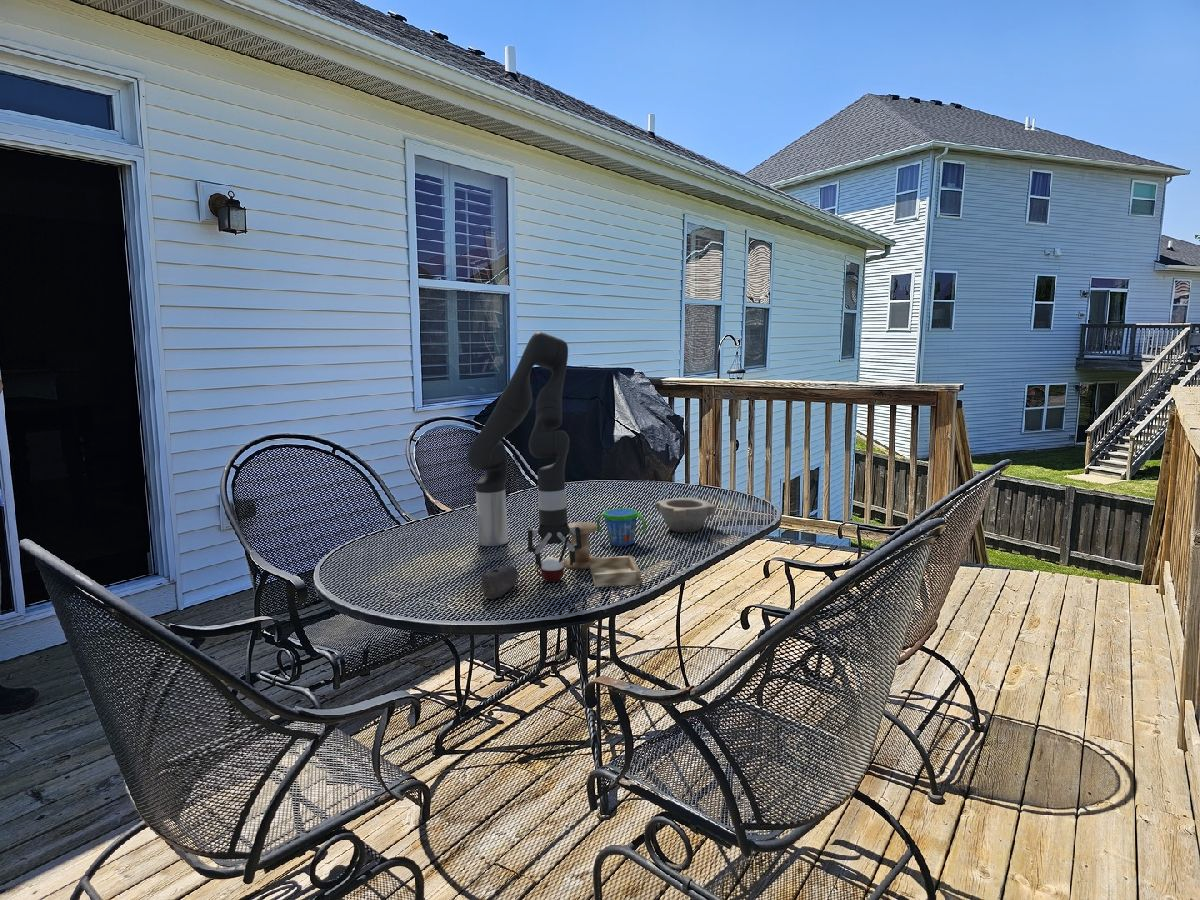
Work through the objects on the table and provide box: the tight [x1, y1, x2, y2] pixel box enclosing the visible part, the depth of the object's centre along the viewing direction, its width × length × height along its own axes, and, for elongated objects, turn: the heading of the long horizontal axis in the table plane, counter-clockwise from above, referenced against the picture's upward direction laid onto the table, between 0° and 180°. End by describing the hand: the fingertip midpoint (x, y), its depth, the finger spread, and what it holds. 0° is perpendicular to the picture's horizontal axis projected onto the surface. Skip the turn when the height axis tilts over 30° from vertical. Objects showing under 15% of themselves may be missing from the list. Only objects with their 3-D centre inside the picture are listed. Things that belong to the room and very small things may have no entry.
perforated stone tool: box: [480, 565, 519, 600], centre depth 187 cm, size 15×5×7 cm, turn 153°
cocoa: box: [535, 536, 570, 583], centre depth 195 cm, size 10×6×12 cm, turn 51°
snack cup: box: [596, 507, 647, 547], centre depth 228 cm, size 16×10×10 cm
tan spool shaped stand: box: [563, 521, 598, 570], centre depth 209 cm, size 10×10×11 cm
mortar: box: [654, 496, 718, 533], centre depth 242 cm, size 17×17×9 cm
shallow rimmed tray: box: [589, 555, 642, 588], centre depth 197 cm, size 12×15×3 cm
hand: (555, 565), depth 195 cm, fingers closed on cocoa, 8 cm apart
